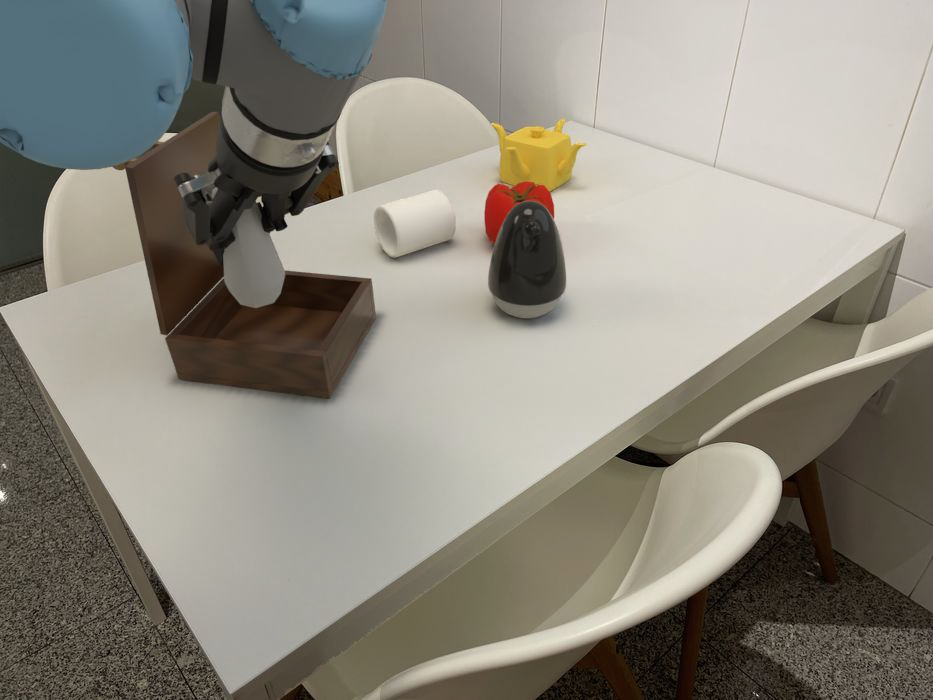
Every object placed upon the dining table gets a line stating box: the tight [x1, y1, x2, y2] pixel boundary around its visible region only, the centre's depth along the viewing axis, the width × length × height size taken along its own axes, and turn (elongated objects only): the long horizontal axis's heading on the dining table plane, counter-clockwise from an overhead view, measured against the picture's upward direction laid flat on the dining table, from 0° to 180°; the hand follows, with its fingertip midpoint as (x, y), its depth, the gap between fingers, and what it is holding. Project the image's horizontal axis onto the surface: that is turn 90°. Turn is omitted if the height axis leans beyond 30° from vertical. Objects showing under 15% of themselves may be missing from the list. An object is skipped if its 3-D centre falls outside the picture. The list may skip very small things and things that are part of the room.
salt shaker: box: [211, 187, 285, 308], centre depth 66 cm, size 6×6×13 cm
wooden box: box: [164, 269, 377, 400], centre depth 86 cm, size 19×17×6 cm
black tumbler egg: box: [487, 201, 567, 319], centre depth 89 cm, size 10×10×15 cm
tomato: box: [483, 181, 555, 246], centre depth 106 cm, size 11×12×9 cm
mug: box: [373, 189, 457, 259], centre depth 107 cm, size 12×10×8 cm
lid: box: [112, 111, 224, 337], centre depth 80 cm, size 20×17×7 cm
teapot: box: [490, 118, 588, 193], centre depth 126 cm, size 15×14×10 cm
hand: (235, 247), depth 70 cm, fingers closed on salt shaker, 3 cm apart
